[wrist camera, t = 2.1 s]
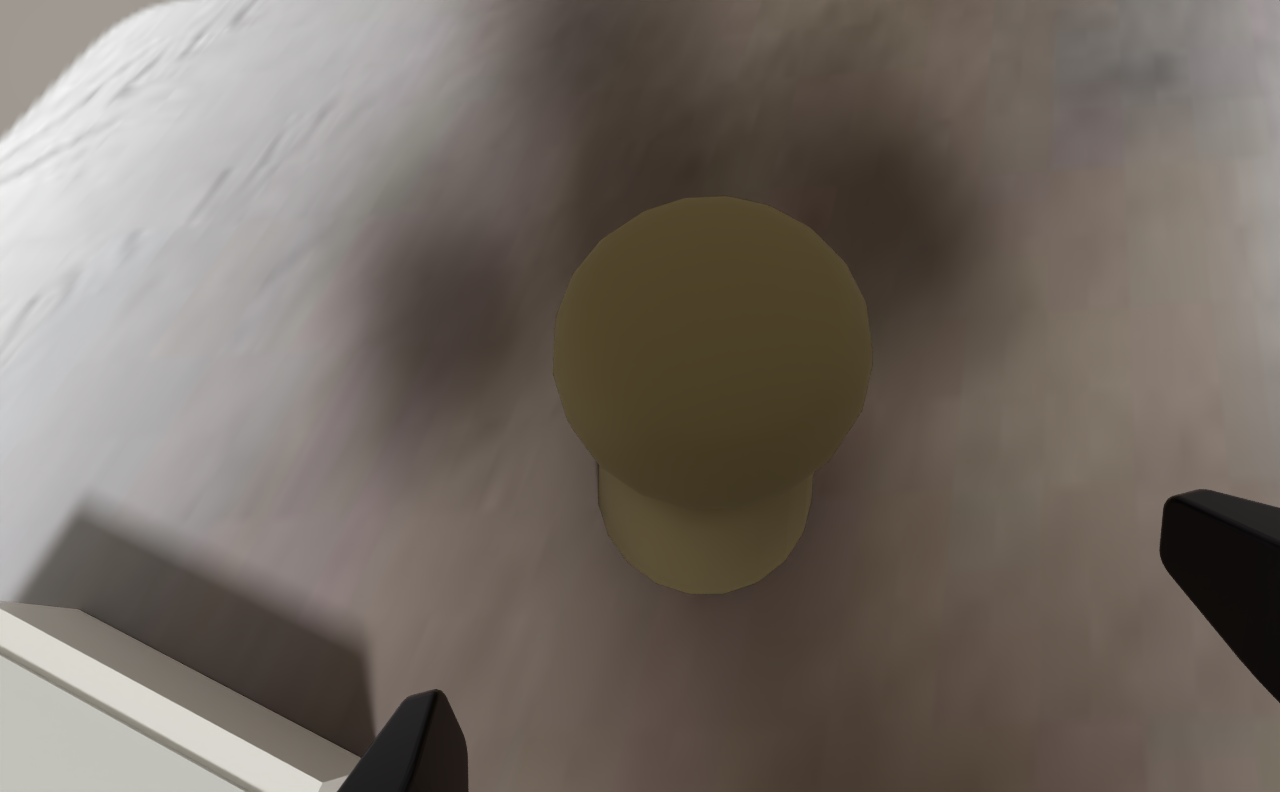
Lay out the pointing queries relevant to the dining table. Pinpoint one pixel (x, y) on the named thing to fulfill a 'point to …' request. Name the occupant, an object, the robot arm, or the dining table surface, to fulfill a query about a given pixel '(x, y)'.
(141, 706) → the tray
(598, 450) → the cork
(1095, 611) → the dining table surface
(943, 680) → the dining table surface
